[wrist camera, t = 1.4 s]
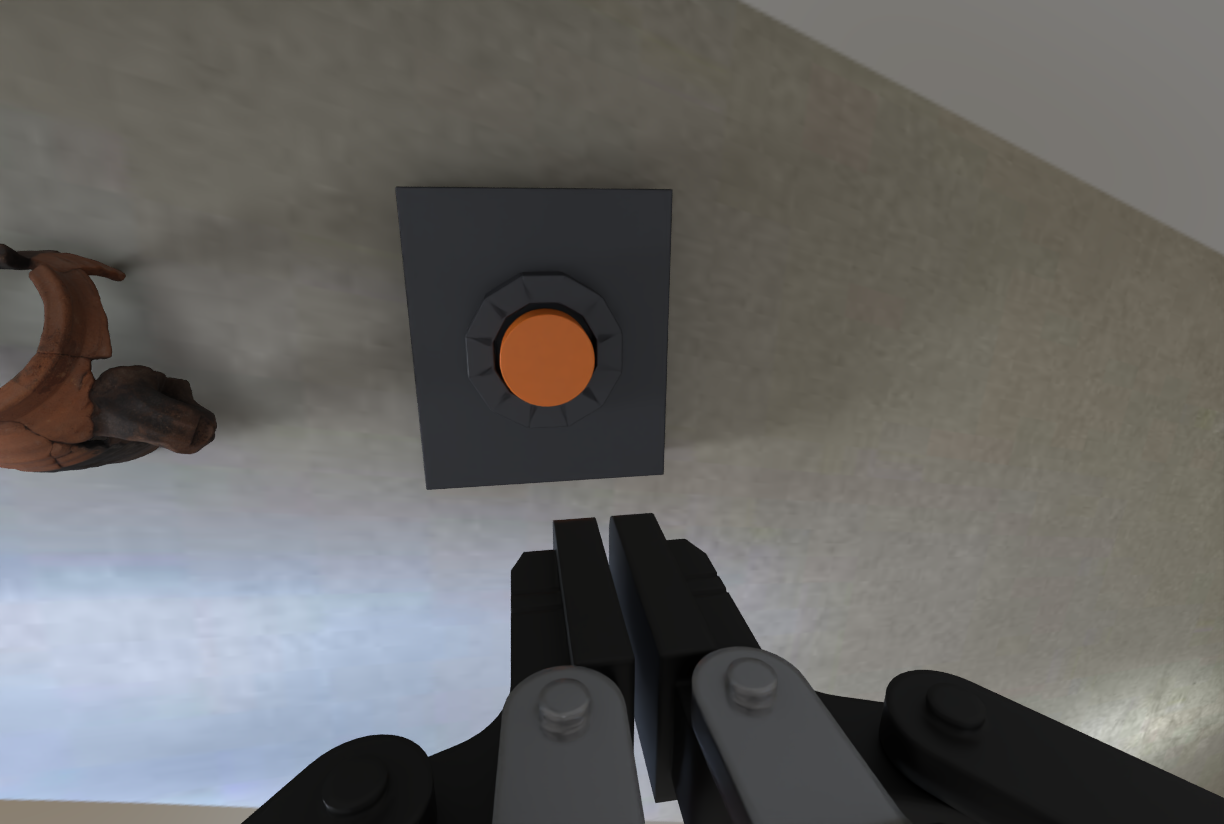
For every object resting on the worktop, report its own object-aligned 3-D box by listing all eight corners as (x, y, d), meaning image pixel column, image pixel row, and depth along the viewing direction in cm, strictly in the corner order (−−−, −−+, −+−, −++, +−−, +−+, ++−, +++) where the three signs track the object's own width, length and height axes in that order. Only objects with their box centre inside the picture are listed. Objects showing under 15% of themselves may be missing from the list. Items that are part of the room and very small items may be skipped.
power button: (498, 309, 26) (496, 315, 24) (589, 307, 26) (594, 312, 25) (502, 397, 27) (502, 409, 25) (590, 393, 28) (595, 404, 26)
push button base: (407, 190, 28) (386, 184, 23) (656, 192, 30) (683, 187, 25) (434, 465, 32) (421, 507, 28) (650, 452, 34) (672, 489, 29)
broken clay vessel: (-4, 449, 29) (-230, 415, 21) (88, 277, 31) (-86, 185, 23) (230, 521, 29) (92, 513, 21) (307, 343, 31) (209, 273, 23)
